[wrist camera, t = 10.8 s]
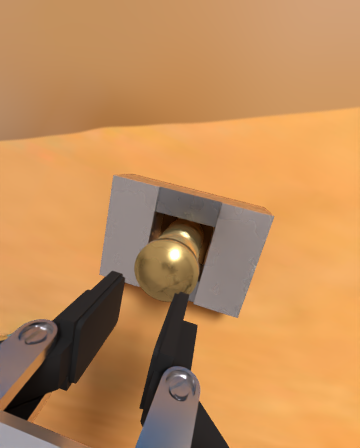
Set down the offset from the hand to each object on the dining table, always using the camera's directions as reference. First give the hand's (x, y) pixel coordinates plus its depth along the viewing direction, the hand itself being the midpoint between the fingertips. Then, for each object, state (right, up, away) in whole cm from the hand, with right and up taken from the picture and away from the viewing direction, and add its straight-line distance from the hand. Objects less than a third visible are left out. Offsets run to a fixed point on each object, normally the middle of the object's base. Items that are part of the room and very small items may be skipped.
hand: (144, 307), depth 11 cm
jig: (+2, +3, +13) cm, 13 cm away
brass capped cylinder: (+2, +3, +13) cm, 13 cm away
